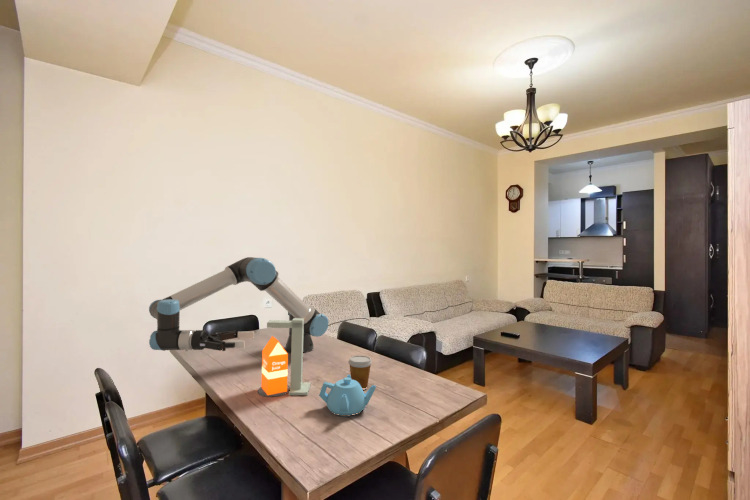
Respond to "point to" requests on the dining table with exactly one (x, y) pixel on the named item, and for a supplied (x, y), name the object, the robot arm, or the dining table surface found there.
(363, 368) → the disposable coffee cup
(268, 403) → the dining table surface
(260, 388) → the seat pad
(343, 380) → the teapot
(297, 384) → the stand
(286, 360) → the orange juice
